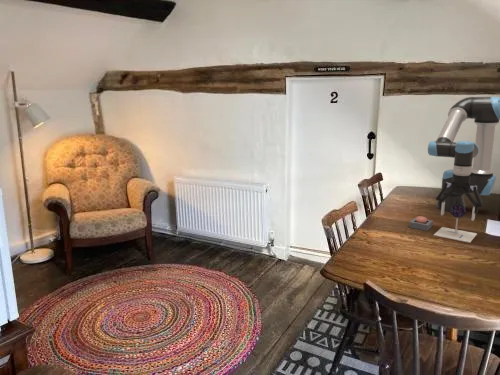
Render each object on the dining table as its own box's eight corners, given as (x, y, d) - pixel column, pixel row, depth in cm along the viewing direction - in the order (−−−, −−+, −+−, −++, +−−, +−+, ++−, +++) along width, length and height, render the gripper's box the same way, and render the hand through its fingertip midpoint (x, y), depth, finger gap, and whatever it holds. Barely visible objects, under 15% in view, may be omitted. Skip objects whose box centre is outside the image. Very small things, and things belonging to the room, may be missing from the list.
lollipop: (465, 236, 192) (468, 206, 188) (449, 236, 193) (453, 206, 190) (461, 232, 198) (464, 202, 195) (446, 231, 200) (449, 202, 196)
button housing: (415, 222, 214) (415, 217, 214) (432, 226, 209) (433, 220, 208) (409, 227, 208) (409, 221, 207) (427, 231, 202) (427, 225, 201)
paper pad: (442, 227, 206) (442, 226, 206) (476, 234, 196) (477, 233, 196) (433, 235, 196) (433, 234, 196) (470, 242, 186) (470, 241, 186)
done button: (417, 221, 211) (418, 215, 210) (427, 222, 208) (428, 217, 207) (414, 223, 207) (415, 218, 207) (424, 225, 204) (425, 219, 203)
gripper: (431, 172, 194) (427, 214, 199) (490, 178, 178) (484, 224, 183) (436, 170, 199) (432, 210, 204) (493, 175, 184) (488, 219, 189)
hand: (457, 217), depth 194 cm, fingers open, 13 cm apart
